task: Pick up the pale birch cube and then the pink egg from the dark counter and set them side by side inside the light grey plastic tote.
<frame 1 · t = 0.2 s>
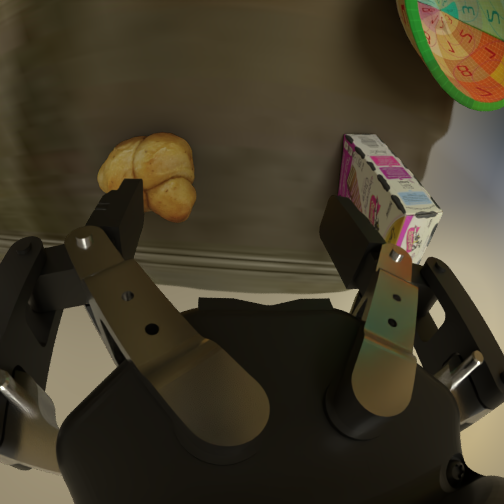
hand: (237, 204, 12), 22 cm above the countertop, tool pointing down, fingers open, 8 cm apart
bread roll: (148, 159, 33), on the countertop
candy bar box: (353, 167, 37), on the countertop
bowl: (431, 8, 19), on the countertop
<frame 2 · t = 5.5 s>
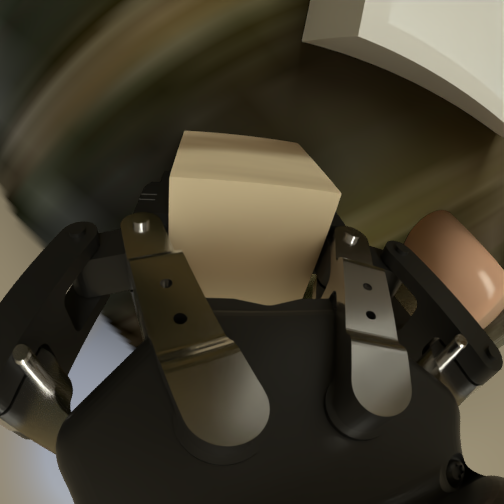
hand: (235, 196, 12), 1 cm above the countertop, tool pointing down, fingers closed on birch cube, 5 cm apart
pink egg: (430, 240, 17), on the countertop
birch cube: (234, 186, 13), on the countertop, touching gripper
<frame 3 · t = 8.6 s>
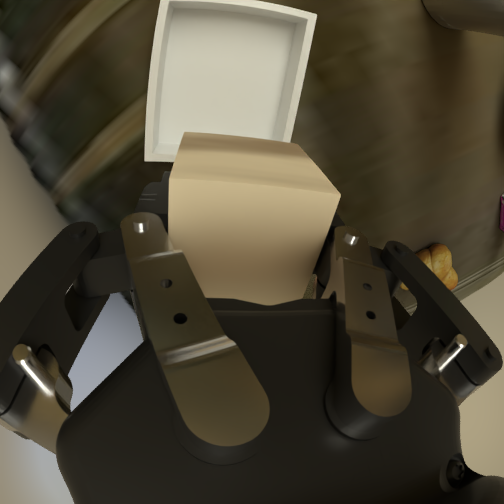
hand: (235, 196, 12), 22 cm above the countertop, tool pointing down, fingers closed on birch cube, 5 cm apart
bread roll: (418, 259, 50), on the countertop
tote: (223, 78, 27), on the countertop
birch cube: (234, 187, 13), point 21 cm above the countertop, touching gripper
when the fingers open (4 cm above the countertop, at t = 12.1 s): birch cube drops 2 cm, resting on tote.
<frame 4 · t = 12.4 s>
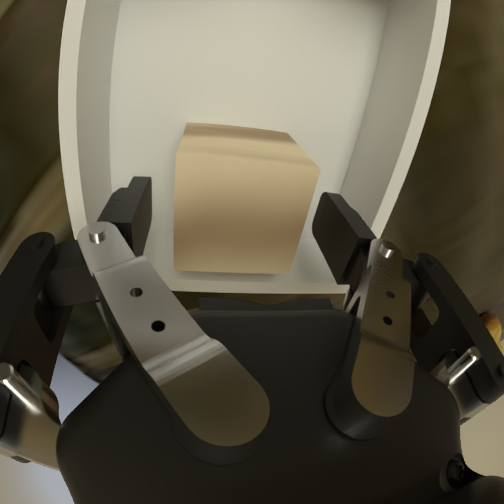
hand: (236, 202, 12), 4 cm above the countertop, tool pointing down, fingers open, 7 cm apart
bread roll: (464, 329, 36), on the countertop
tote: (240, 94, 13), on the countertop
birch cube: (231, 171, 15), point 1 cm above the countertop, touching tote
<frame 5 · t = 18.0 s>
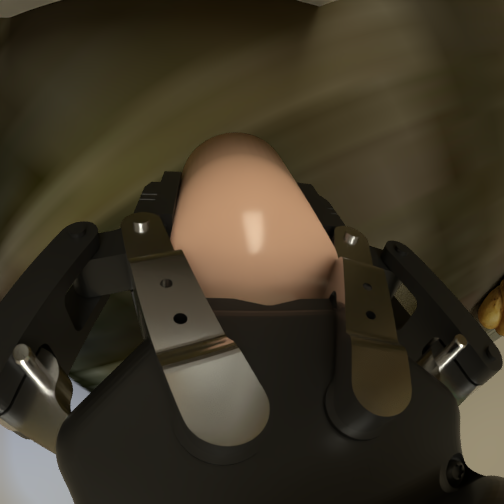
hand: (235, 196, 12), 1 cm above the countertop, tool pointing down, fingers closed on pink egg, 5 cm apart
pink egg: (233, 182, 13), on the countertop, touching gripper
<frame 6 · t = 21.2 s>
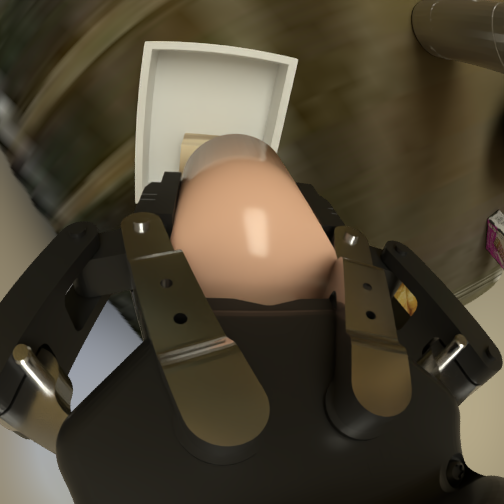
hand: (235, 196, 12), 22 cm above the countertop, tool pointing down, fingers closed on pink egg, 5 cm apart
bread roll: (394, 286, 54), on the countertop
tote: (208, 120, 30), on the countertop
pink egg: (233, 183, 13), point 21 cm above the countertop, touching gripper
candy bar box: (491, 229, 49), on the countertop
birch cube: (204, 154, 31), point 1 cm above the countertop, touching tote
when the fingers open (4 cm above the countertop, at t = 24.9 s): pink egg drops 1 cm, resting on tote.
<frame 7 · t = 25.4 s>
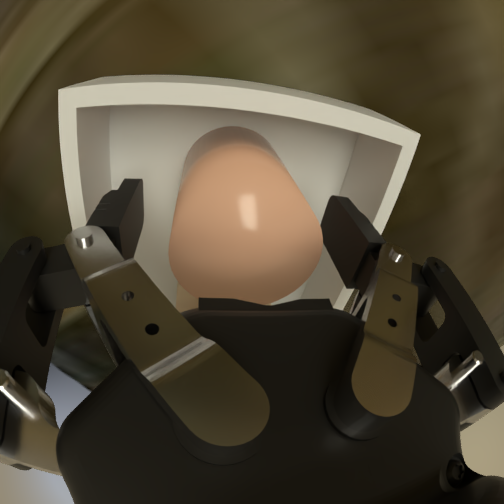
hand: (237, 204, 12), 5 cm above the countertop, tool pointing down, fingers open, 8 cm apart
tote: (221, 224, 18), on the countertop
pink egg: (231, 171, 15), point 1 cm above the countertop, touching tote
birch cube: (217, 282, 19), point 1 cm above the countertop, touching tote
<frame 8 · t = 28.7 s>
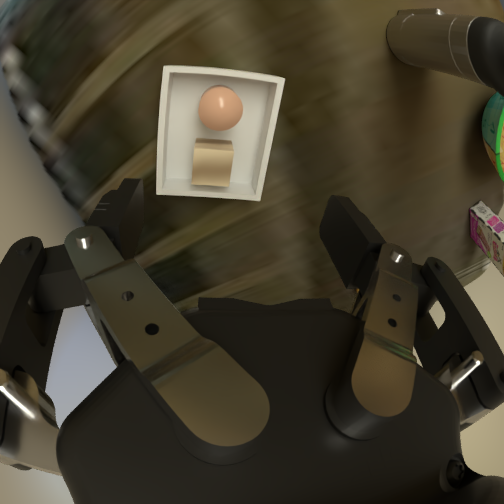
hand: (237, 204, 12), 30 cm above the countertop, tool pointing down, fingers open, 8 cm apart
tote: (214, 127, 37), on the countertop
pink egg: (218, 101, 34), point 1 cm above the countertop, touching tote
candy bar box: (474, 219, 56), on the countertop
bowl: (491, 119, 39), on the countertop
birch cube: (211, 155, 39), point 1 cm above the countertop, touching tote
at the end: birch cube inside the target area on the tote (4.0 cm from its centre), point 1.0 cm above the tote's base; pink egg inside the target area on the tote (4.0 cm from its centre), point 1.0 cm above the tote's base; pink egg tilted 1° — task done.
